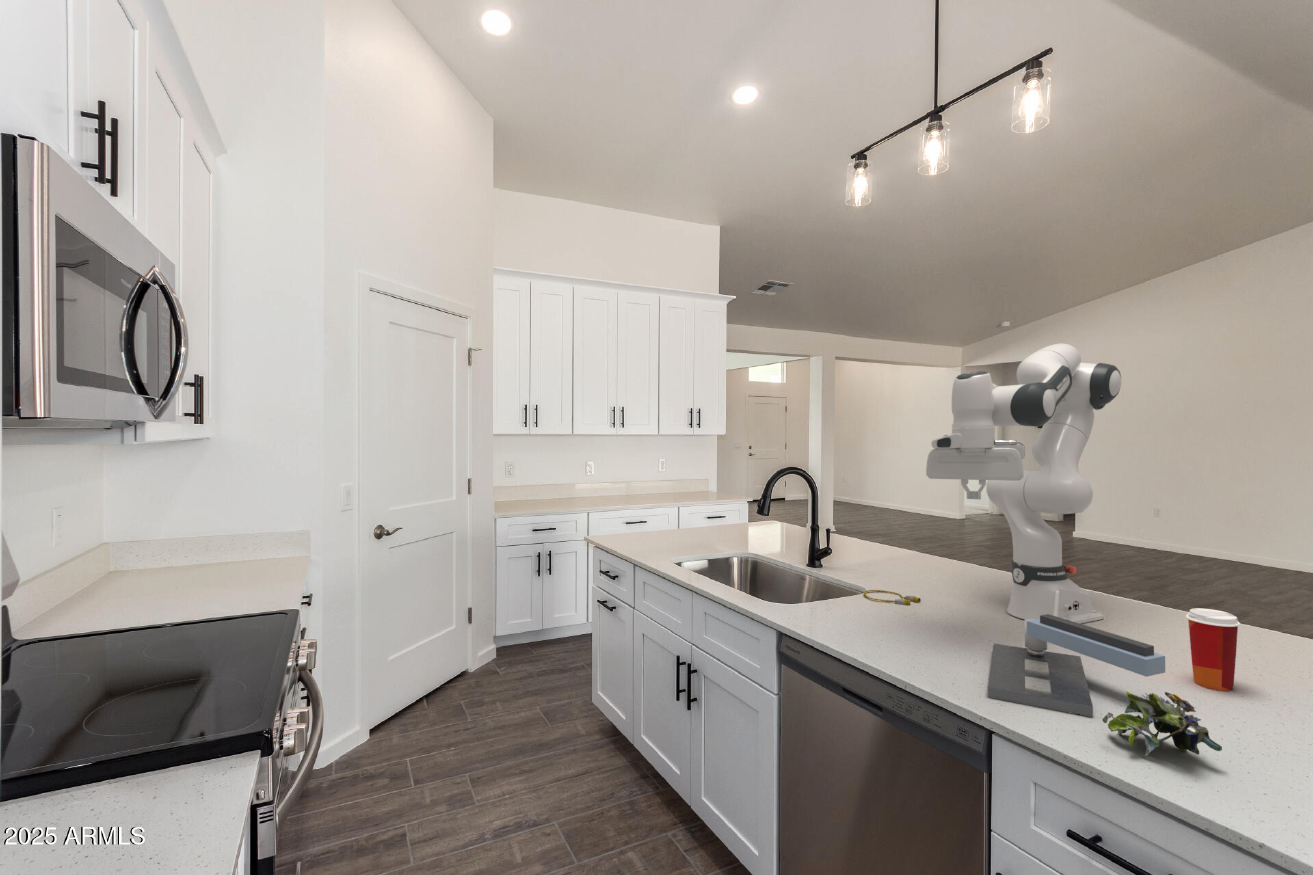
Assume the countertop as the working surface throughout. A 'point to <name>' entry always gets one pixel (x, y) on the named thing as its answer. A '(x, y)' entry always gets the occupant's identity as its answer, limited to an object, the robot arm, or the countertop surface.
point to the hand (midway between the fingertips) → (973, 498)
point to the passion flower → (1162, 723)
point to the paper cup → (1213, 647)
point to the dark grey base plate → (1039, 679)
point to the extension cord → (897, 601)
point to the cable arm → (1093, 644)
